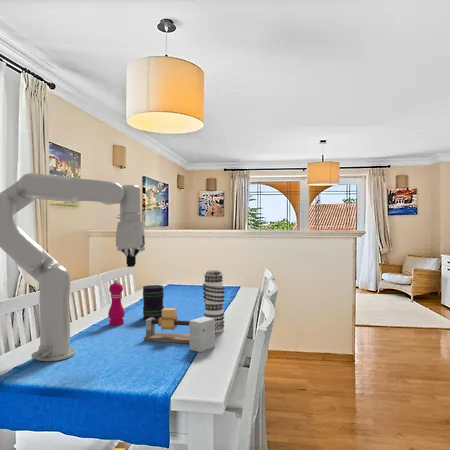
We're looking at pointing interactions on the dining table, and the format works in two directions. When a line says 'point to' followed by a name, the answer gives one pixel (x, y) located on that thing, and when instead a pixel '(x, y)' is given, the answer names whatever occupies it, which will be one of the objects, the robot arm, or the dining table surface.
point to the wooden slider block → (168, 318)
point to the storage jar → (153, 301)
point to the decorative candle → (214, 298)
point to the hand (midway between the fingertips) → (131, 266)
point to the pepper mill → (116, 305)
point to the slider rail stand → (165, 337)
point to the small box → (202, 334)
